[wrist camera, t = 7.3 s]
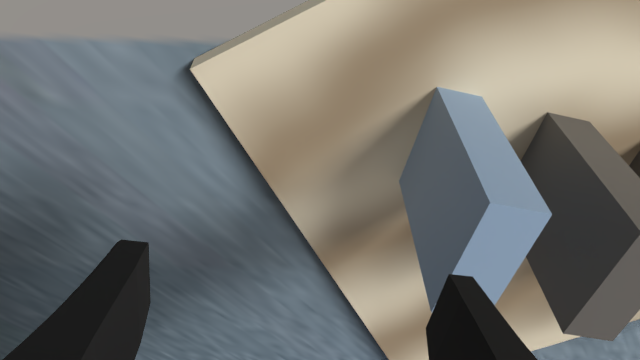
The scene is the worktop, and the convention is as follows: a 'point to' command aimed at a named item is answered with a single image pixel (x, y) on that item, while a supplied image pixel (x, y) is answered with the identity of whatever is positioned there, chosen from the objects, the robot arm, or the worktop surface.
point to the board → (413, 124)
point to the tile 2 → (585, 228)
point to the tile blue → (468, 197)
